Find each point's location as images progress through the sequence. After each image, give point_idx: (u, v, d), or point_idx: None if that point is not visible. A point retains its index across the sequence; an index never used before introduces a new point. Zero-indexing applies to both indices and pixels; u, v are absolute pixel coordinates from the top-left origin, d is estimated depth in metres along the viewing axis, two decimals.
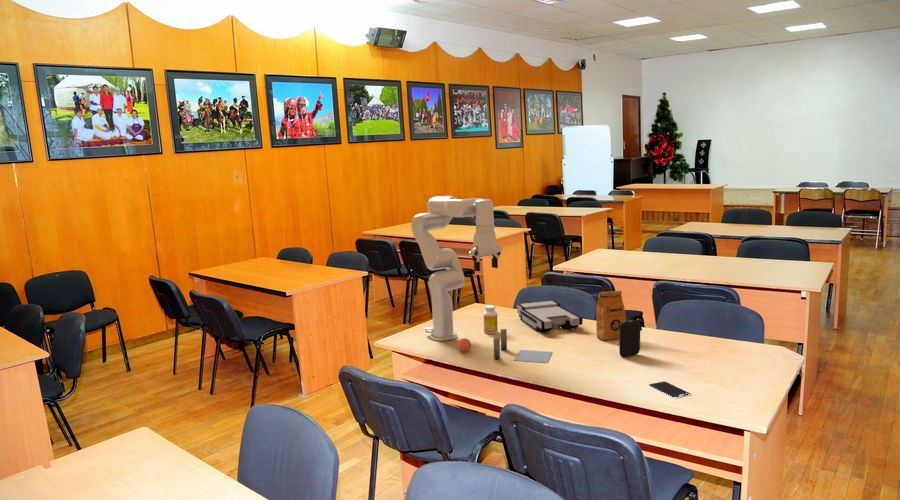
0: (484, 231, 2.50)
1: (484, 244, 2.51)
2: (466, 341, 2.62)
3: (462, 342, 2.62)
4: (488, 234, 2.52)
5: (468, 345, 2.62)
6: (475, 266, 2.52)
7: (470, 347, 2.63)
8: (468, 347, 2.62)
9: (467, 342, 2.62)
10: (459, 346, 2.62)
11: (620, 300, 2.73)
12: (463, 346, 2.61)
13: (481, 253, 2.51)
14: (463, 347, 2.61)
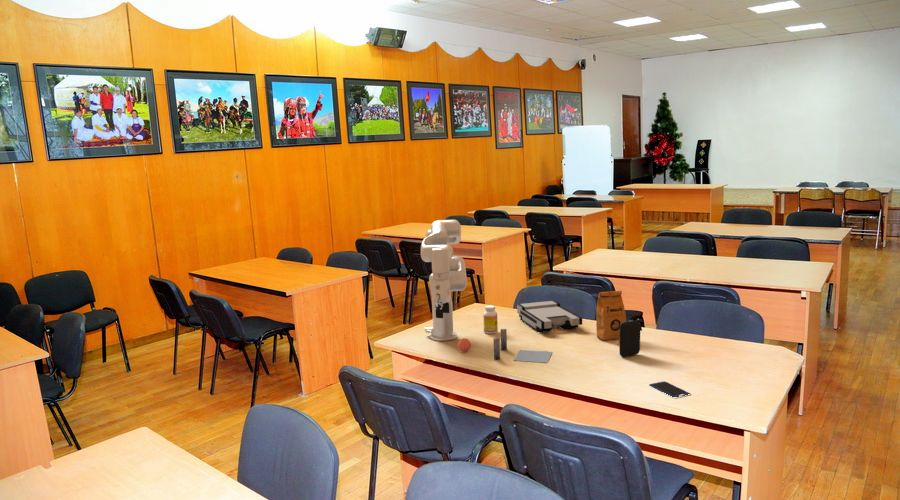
0: None
1: None
2: (466, 341, 2.62)
3: (462, 342, 2.62)
4: None
5: (468, 345, 2.62)
6: None
7: (470, 347, 2.63)
8: (468, 347, 2.62)
9: (467, 342, 2.62)
10: (459, 346, 2.62)
11: (620, 300, 2.73)
12: (463, 346, 2.61)
13: None
14: (463, 347, 2.61)
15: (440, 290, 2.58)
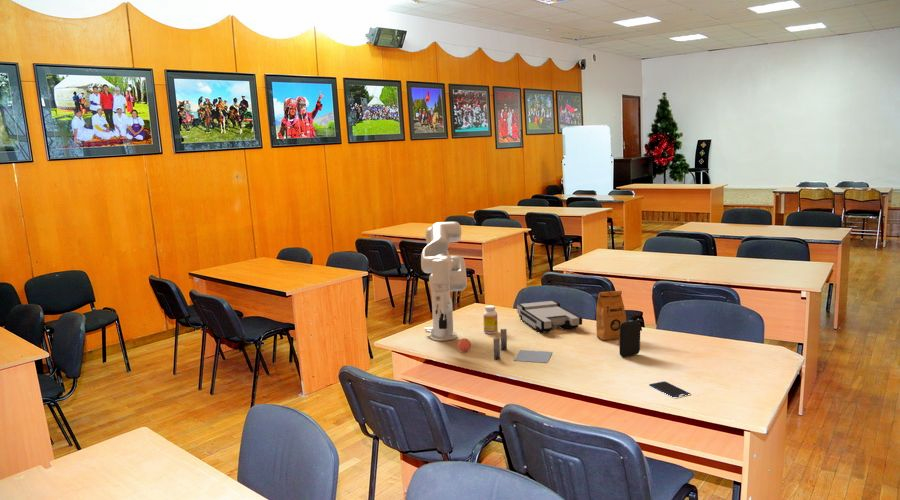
0: None
1: None
2: (466, 341, 2.62)
3: (462, 342, 2.62)
4: None
5: (468, 345, 2.62)
6: None
7: (470, 347, 2.63)
8: (468, 347, 2.62)
9: (467, 342, 2.62)
10: (459, 346, 2.62)
11: (620, 300, 2.73)
12: (463, 346, 2.61)
13: None
14: (463, 347, 2.61)
15: (440, 301, 2.59)
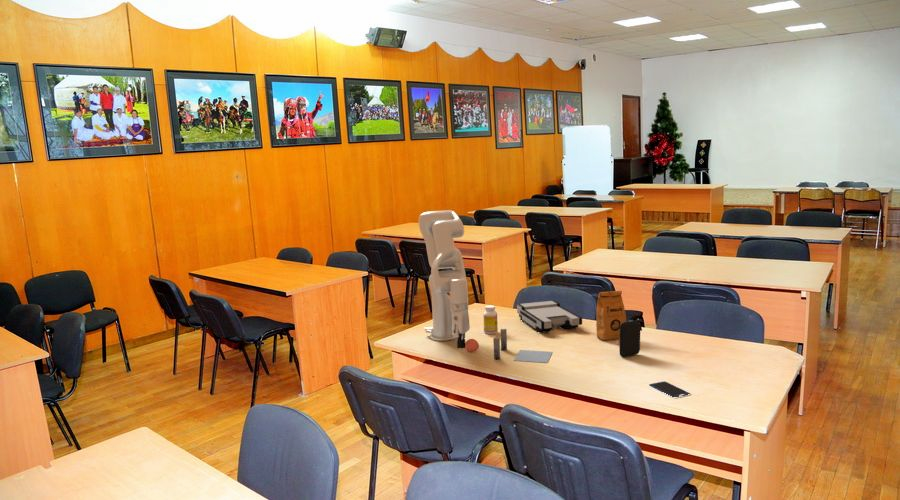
0: None
1: None
2: (476, 346, 2.61)
3: (473, 344, 2.60)
4: None
5: (475, 350, 2.61)
6: None
7: None
8: (473, 351, 2.61)
9: (476, 348, 2.61)
10: (468, 344, 2.61)
11: (620, 300, 2.73)
12: (471, 348, 2.60)
13: None
14: (470, 348, 2.60)
15: (458, 321, 2.57)
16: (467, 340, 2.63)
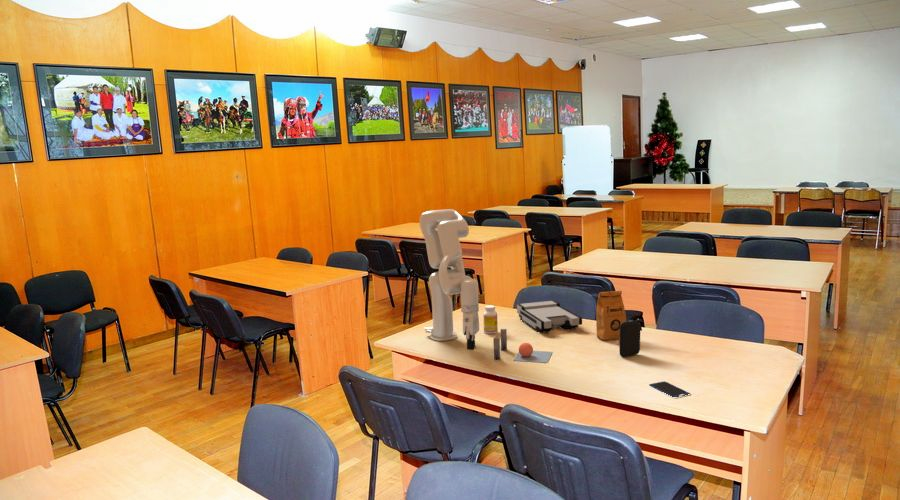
0: None
1: None
2: (525, 356, 2.54)
3: (527, 355, 2.53)
4: None
5: (521, 354, 2.54)
6: None
7: (519, 352, 2.56)
8: None
9: (523, 356, 2.54)
10: (527, 350, 2.52)
11: (620, 300, 2.73)
12: (523, 353, 2.52)
13: None
14: (523, 352, 2.52)
15: (469, 322, 2.56)
16: (531, 346, 2.54)
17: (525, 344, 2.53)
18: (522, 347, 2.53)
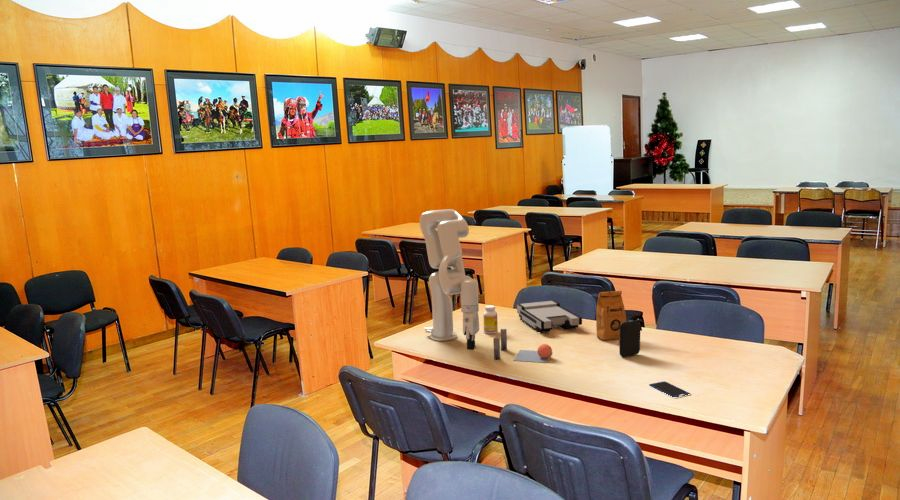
0: None
1: None
2: (541, 346, 2.51)
3: (539, 350, 2.51)
4: None
5: (545, 346, 2.50)
6: None
7: (549, 346, 2.51)
8: (547, 348, 2.50)
9: (542, 346, 2.51)
10: (541, 355, 2.50)
11: (620, 300, 2.73)
12: (542, 351, 2.49)
13: None
14: (544, 352, 2.49)
15: (469, 322, 2.56)
16: None
17: None
18: (547, 355, 2.50)
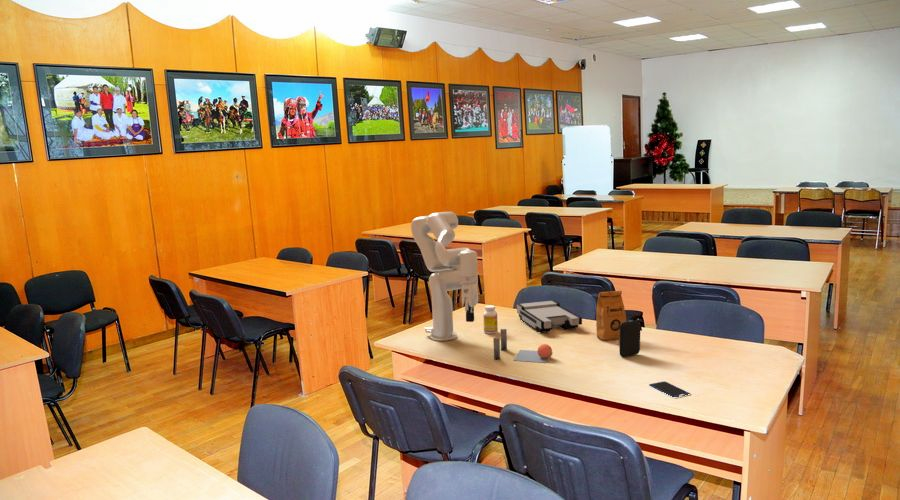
0: None
1: None
2: (541, 346, 2.51)
3: (539, 350, 2.51)
4: None
5: (545, 346, 2.50)
6: None
7: (549, 346, 2.51)
8: (547, 348, 2.50)
9: (542, 346, 2.51)
10: (541, 355, 2.50)
11: (620, 300, 2.73)
12: (542, 351, 2.49)
13: None
14: (544, 352, 2.49)
15: (468, 294, 2.55)
16: None
17: None
18: (547, 355, 2.50)
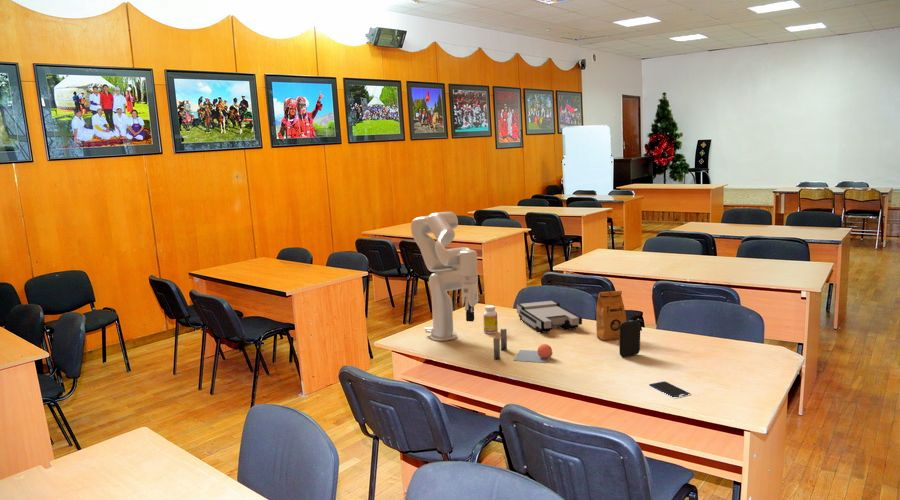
0: None
1: None
2: (541, 346, 2.51)
3: (539, 350, 2.51)
4: None
5: (545, 346, 2.50)
6: None
7: (549, 346, 2.51)
8: (547, 348, 2.50)
9: (542, 346, 2.51)
10: (541, 355, 2.50)
11: (620, 300, 2.73)
12: (542, 351, 2.49)
13: None
14: (544, 352, 2.49)
15: (468, 293, 2.55)
16: None
17: None
18: (547, 355, 2.50)
